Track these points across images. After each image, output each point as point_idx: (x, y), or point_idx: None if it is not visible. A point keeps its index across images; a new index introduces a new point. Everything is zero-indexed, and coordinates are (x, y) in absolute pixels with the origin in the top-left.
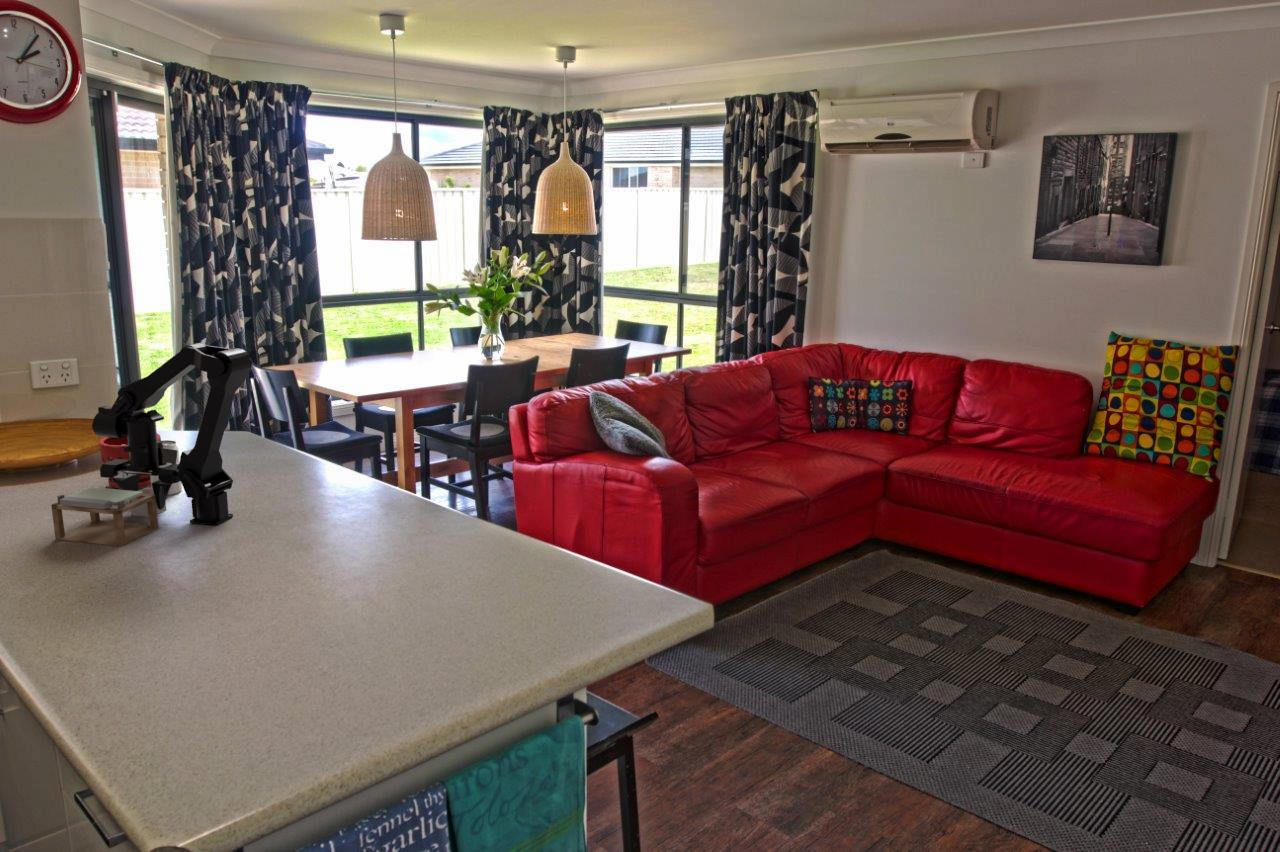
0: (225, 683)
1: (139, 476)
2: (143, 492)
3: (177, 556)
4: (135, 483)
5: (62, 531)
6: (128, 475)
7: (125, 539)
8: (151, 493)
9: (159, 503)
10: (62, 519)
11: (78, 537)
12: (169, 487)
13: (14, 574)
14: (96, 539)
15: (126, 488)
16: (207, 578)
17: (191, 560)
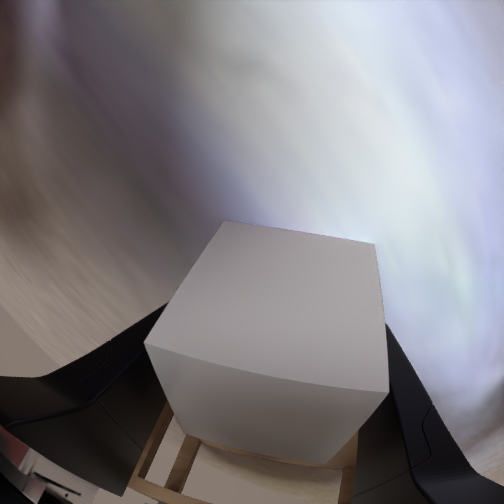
0: None
1: (43, 429)
2: (243, 435)
3: None
4: (104, 421)
5: (195, 451)
6: (84, 498)
7: (353, 462)
8: (319, 450)
9: None
10: (185, 474)
11: (235, 448)
12: (456, 461)
13: (256, 483)
14: (284, 459)
15: (142, 448)
16: (493, 473)
17: (483, 464)
